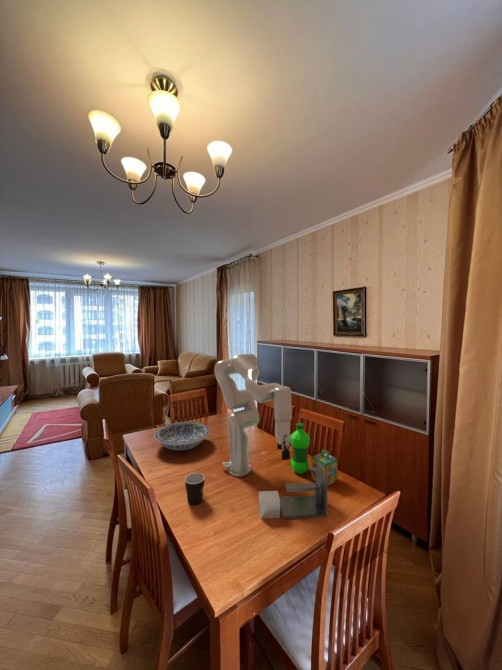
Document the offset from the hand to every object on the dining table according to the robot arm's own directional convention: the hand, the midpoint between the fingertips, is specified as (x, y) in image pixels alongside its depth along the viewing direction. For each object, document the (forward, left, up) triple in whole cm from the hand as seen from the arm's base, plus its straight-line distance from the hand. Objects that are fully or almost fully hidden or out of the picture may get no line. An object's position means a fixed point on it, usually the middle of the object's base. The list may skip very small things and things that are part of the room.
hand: (283, 454), depth 117 cm
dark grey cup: (-38, +4, -21) cm, 44 cm away
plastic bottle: (+13, +23, -21) cm, 34 cm away
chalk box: (+23, +14, -21) cm, 35 cm away
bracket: (+7, -5, -21) cm, 23 cm away
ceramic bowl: (-55, +57, -21) cm, 82 cm away
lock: (-7, -7, -21) cm, 23 cm away
